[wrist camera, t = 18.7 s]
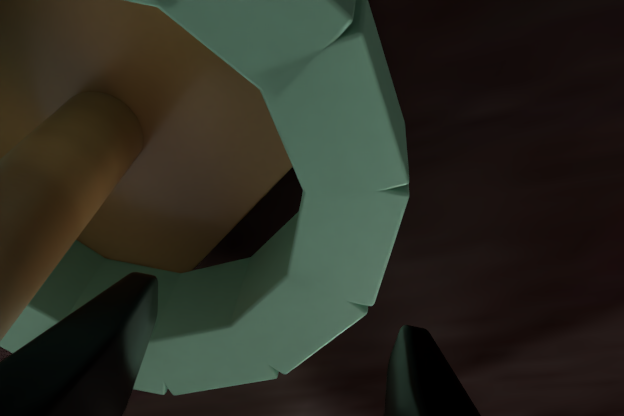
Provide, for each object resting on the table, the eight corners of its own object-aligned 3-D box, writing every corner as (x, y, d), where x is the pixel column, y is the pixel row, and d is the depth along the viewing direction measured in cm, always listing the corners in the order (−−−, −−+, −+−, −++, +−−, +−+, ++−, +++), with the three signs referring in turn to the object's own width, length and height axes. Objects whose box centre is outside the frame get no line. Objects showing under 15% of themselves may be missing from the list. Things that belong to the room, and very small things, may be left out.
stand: (169, 282, 17) (41, 559, 11) (-82, 122, 15) (-442, 350, 8) (341, 103, 14) (303, 363, 7) (38, -150, 11) (-449, -120, 5)
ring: (210, 376, 18) (187, 449, 16) (-168, 150, 15) (-263, 205, 12) (511, 125, 12) (539, 187, 10) (7, -348, 9) (-112, -404, 7)
